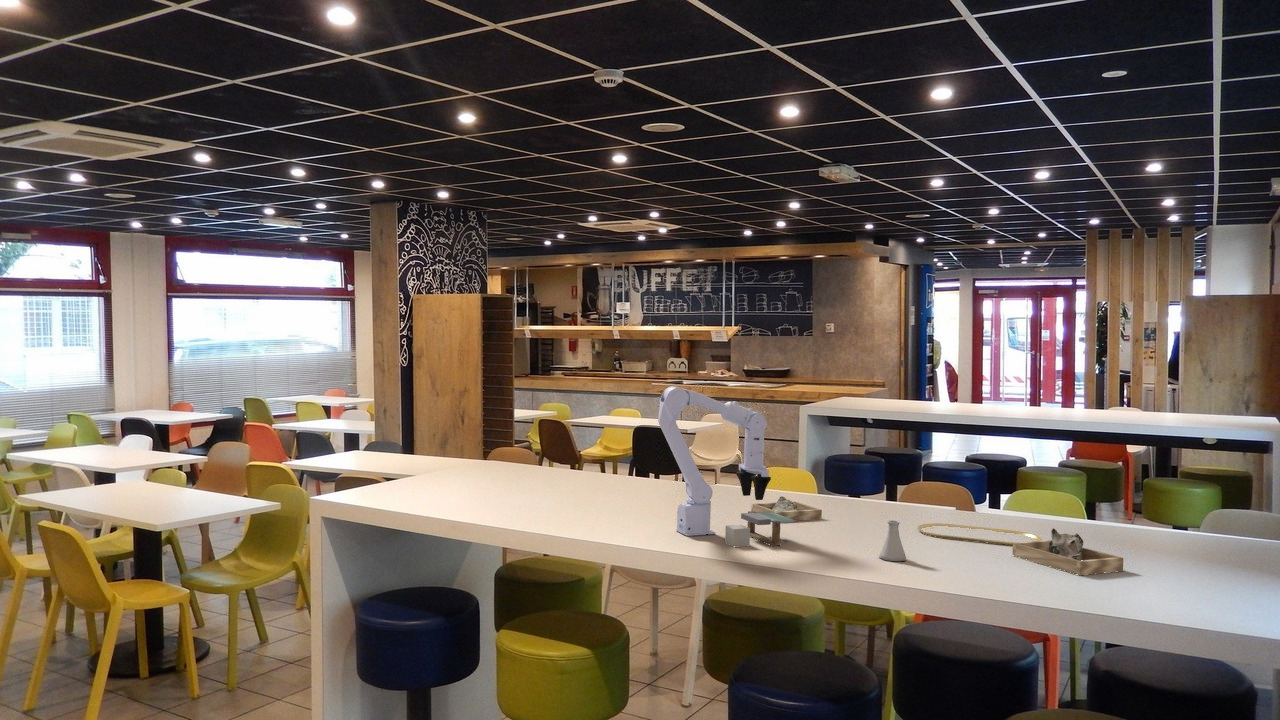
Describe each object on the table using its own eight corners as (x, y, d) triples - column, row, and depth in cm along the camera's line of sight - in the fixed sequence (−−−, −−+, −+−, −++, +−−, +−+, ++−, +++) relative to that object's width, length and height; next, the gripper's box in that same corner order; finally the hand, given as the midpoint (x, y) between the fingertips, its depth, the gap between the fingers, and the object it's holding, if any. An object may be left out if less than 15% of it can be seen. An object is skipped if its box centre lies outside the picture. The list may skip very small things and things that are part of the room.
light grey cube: (733, 547, 246) (734, 529, 245) (725, 543, 250) (725, 525, 250) (749, 546, 247) (750, 528, 247) (740, 542, 252) (741, 524, 252)
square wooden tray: (776, 521, 282) (776, 512, 282) (751, 512, 297) (751, 503, 297) (821, 519, 289) (821, 509, 289) (795, 510, 304) (795, 501, 304)
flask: (875, 555, 240) (876, 518, 240) (902, 556, 239) (903, 519, 239) (882, 561, 232) (883, 523, 232) (910, 562, 232) (911, 524, 232)
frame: (773, 546, 247) (773, 522, 247) (743, 534, 263) (744, 511, 262) (781, 545, 248) (782, 521, 248) (751, 533, 264) (752, 510, 263)
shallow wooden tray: (1079, 575, 222) (1080, 561, 222) (1012, 555, 242) (1012, 543, 242) (1123, 571, 228) (1123, 557, 228) (1053, 552, 248) (1054, 539, 248)
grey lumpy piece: (1094, 568, 226) (1084, 529, 227) (1055, 573, 229) (1046, 534, 230) (1085, 557, 241) (1076, 520, 242) (1049, 562, 244) (1040, 526, 245)
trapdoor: (759, 525, 248) (759, 520, 248) (739, 517, 259) (739, 512, 259) (793, 523, 252) (794, 518, 252) (772, 516, 263) (772, 510, 263)
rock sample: (759, 503, 293) (778, 486, 295) (765, 515, 298) (783, 498, 300) (781, 521, 286) (800, 503, 288) (786, 533, 291) (805, 515, 293)
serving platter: (922, 526, 283) (922, 521, 283) (1042, 538, 268) (1042, 533, 268) (913, 536, 266) (913, 531, 266) (1041, 551, 251) (1041, 545, 251)
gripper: (778, 454, 260) (777, 501, 260) (753, 449, 273) (752, 493, 273) (757, 455, 257) (755, 502, 257) (733, 449, 270) (732, 494, 271)
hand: (752, 497), depth 265 cm, fingers open, 7 cm apart
